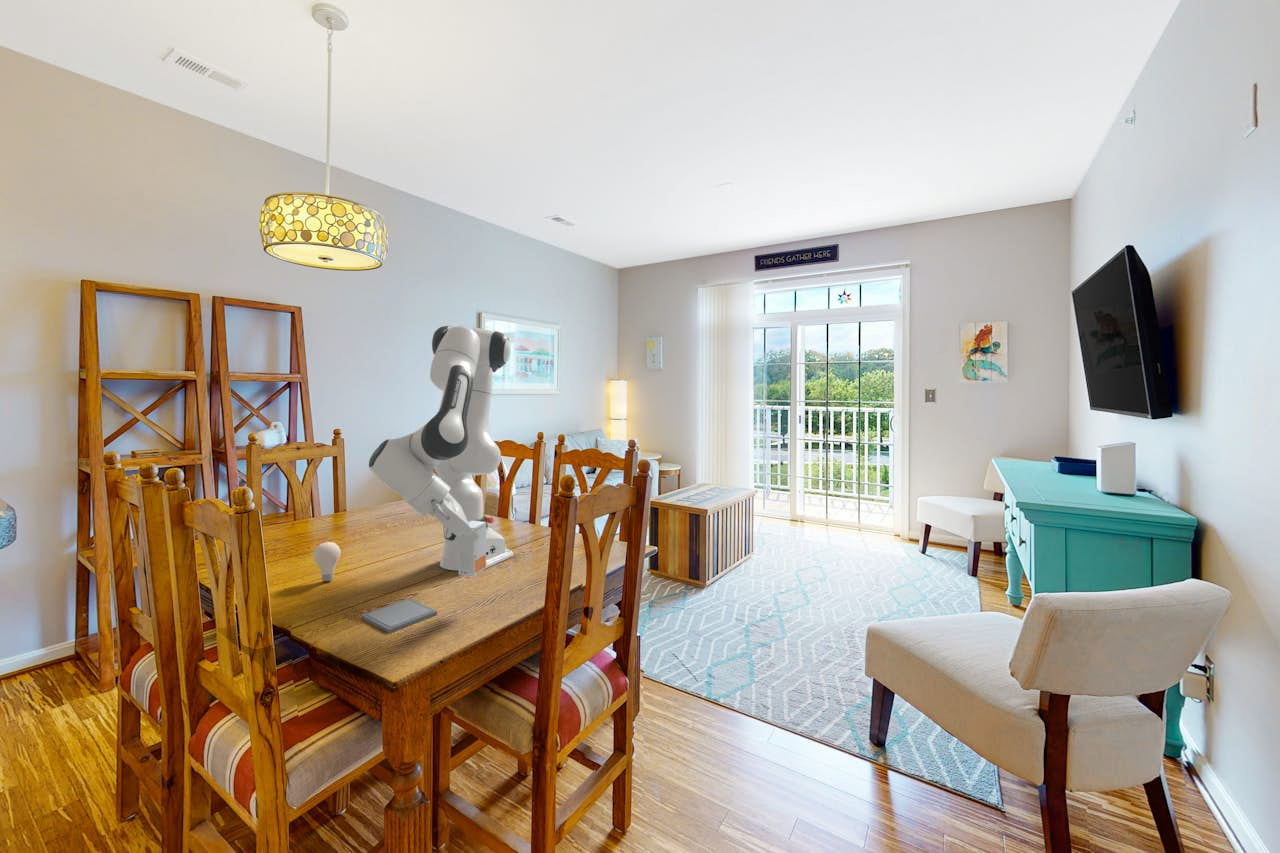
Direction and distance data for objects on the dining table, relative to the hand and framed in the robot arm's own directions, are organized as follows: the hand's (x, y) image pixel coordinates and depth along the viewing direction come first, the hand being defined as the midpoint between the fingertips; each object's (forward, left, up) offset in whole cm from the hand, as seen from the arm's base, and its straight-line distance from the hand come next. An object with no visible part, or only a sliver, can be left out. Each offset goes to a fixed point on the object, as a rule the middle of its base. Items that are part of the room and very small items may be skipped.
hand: (474, 533), depth 127 cm
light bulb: (+14, -47, -19) cm, 52 cm away
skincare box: (0, 0, -10) cm, 10 cm away
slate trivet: (+14, -11, -19) cm, 26 cm away
